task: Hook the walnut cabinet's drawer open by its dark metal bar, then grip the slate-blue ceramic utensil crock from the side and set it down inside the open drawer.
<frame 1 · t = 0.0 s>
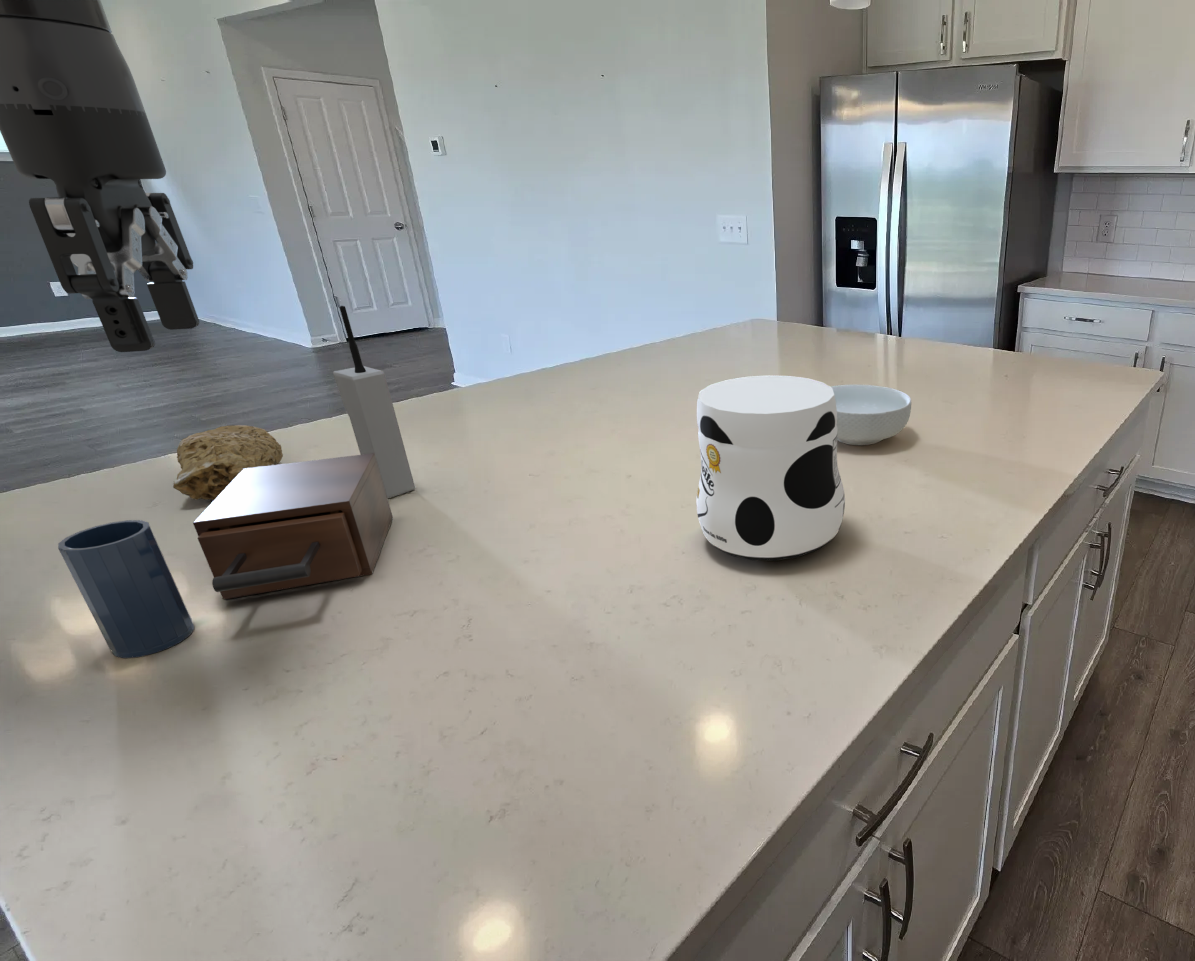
hand: (160, 338, 55), 28 cm above the worktop, tool pointing down, fingers open, 8 cm apart
utensil crock: (154, 639, 65), on the worktop
cabinet: (317, 554, 79), on the worktop
cereal bowl: (859, 438, 117), on the worktop
sponge: (234, 480, 99), on the worktop
milk container: (773, 538, 84), on the worktop
vintage mobile phone: (392, 491, 96), on the worktop
drawer: (292, 541, 73), point 4 cm above the worktop, slide at 0.5 cm
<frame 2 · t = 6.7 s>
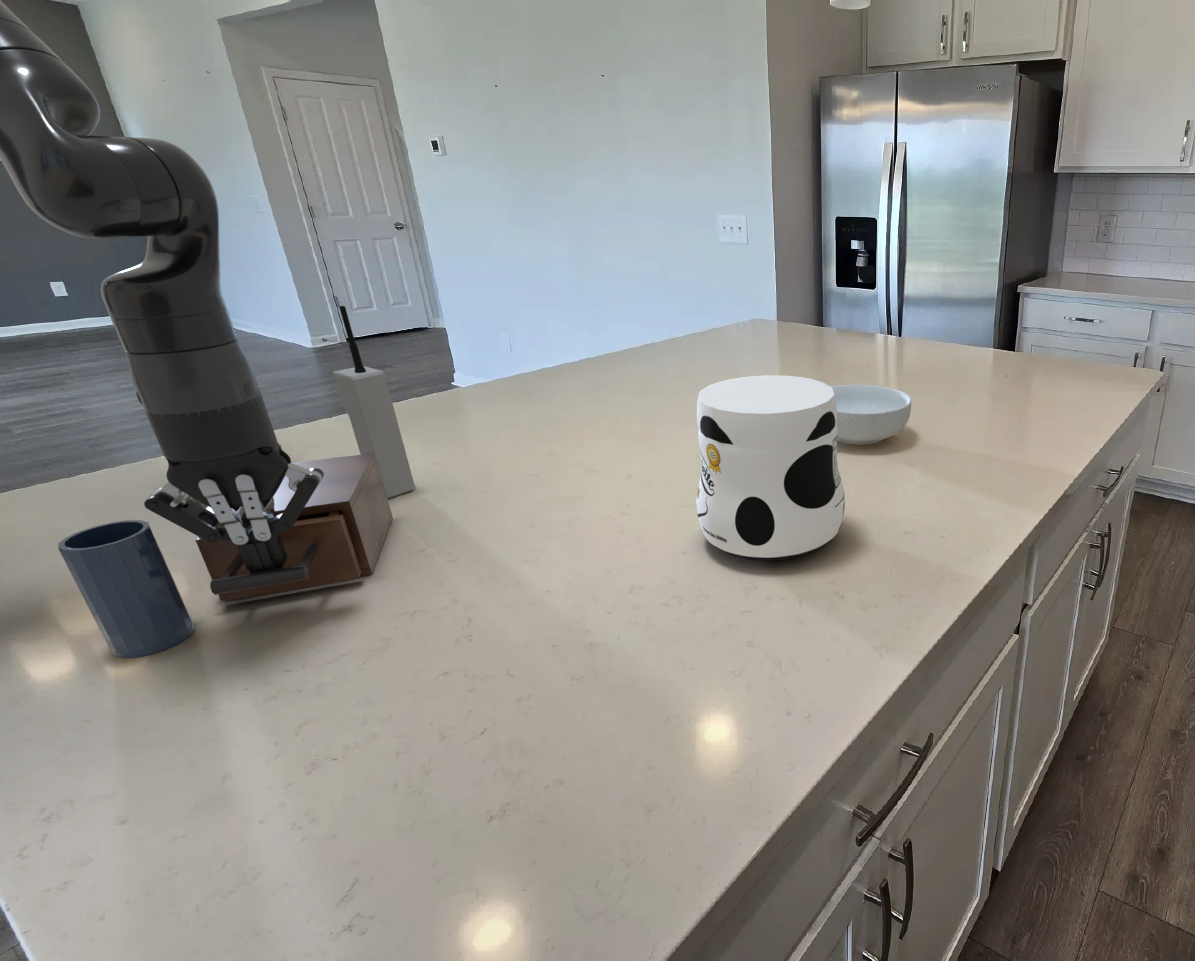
hand: (270, 572, 66), 5 cm above the worktop, tool pointing down, fingers closed
drawer: (291, 543, 73), point 4 cm above the worktop, slide at 1.0 cm, touching gripper
everything else where it was.
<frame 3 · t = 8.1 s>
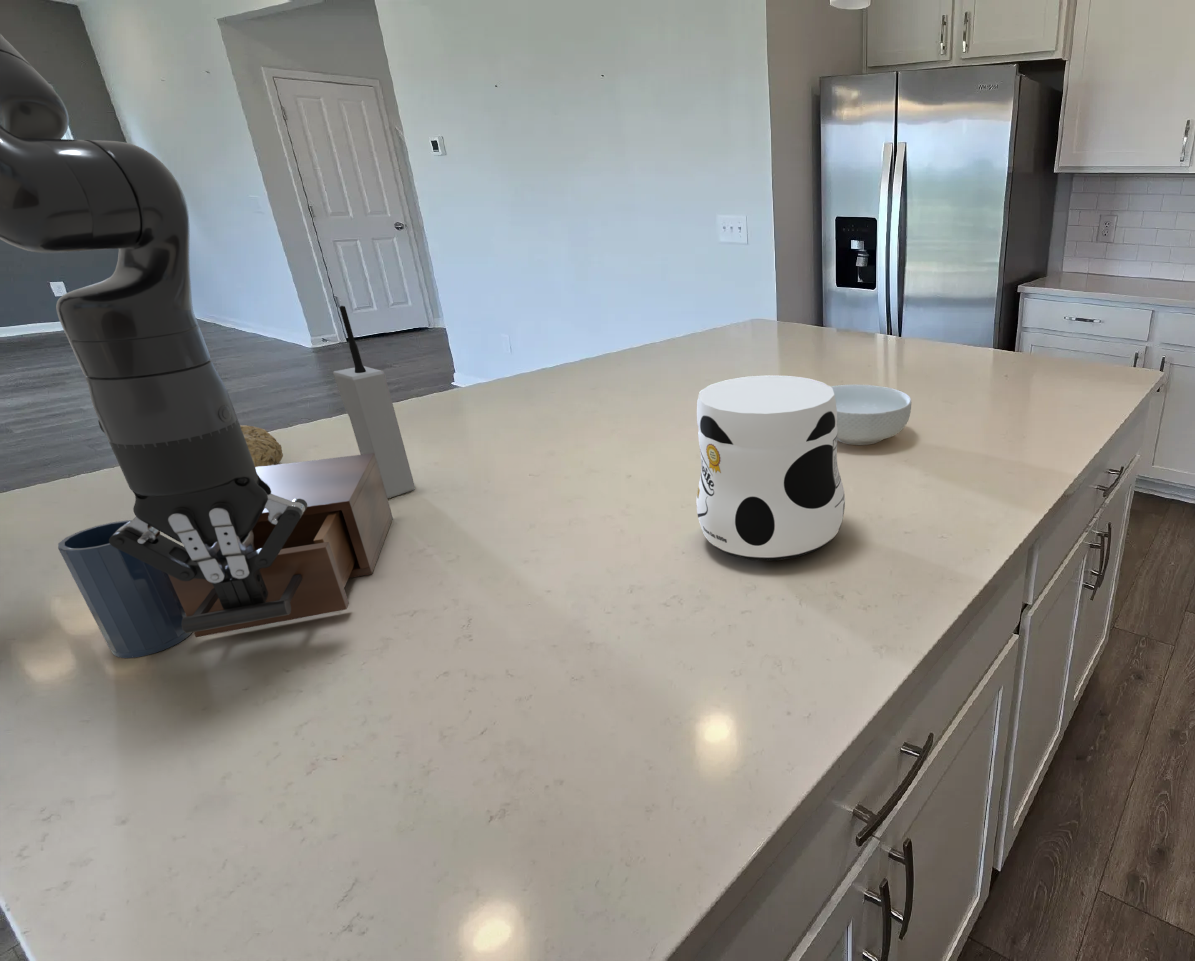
hand: (249, 611, 61), 5 cm above the worktop, tool pointing down, fingers closed
drawer: (273, 572, 67), point 4 cm above the worktop, slide at 7.3 cm, touching gripper
everything else where it was.
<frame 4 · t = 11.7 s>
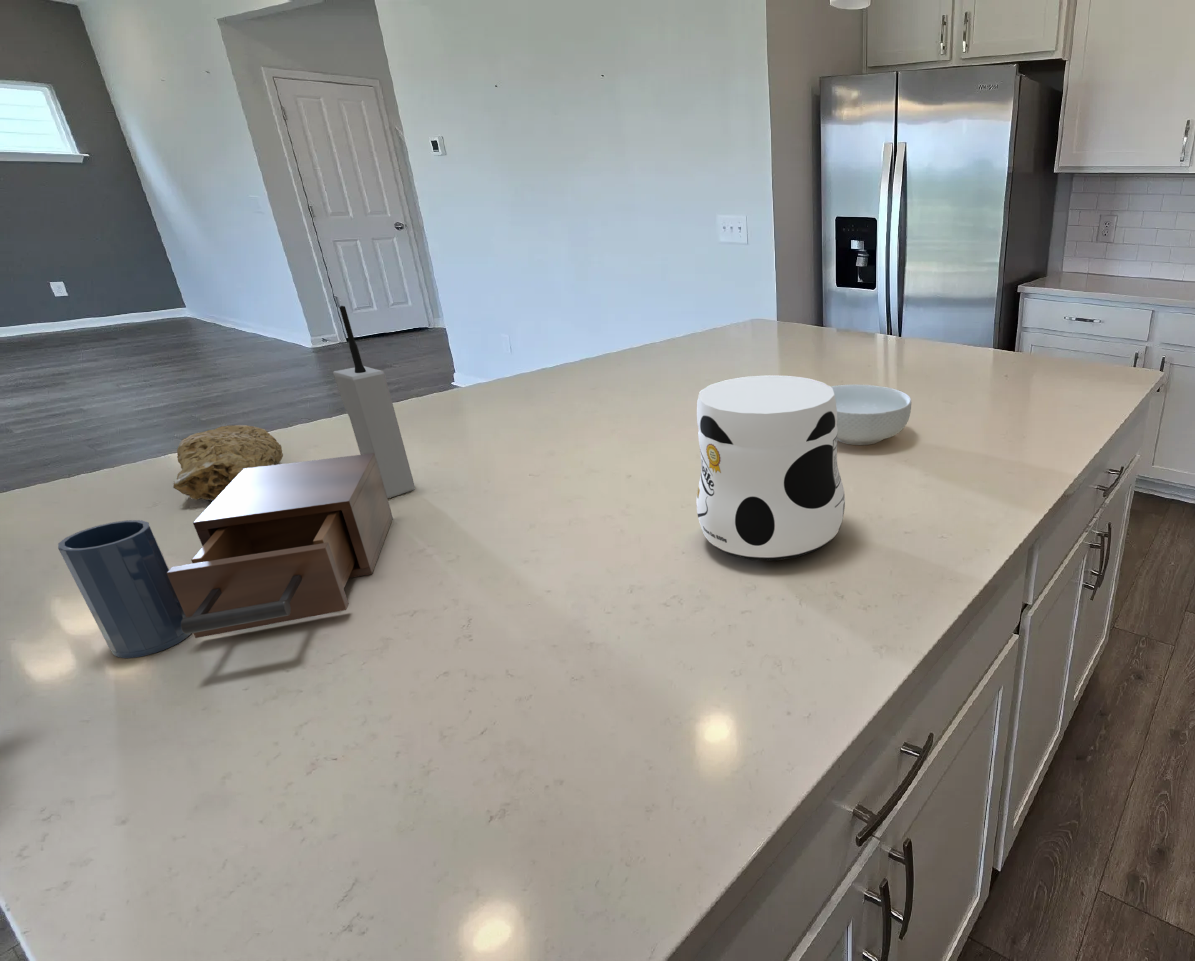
drawer: (273, 573, 67), point 4 cm above the worktop, slide at 7.5 cm
everything else where it was.
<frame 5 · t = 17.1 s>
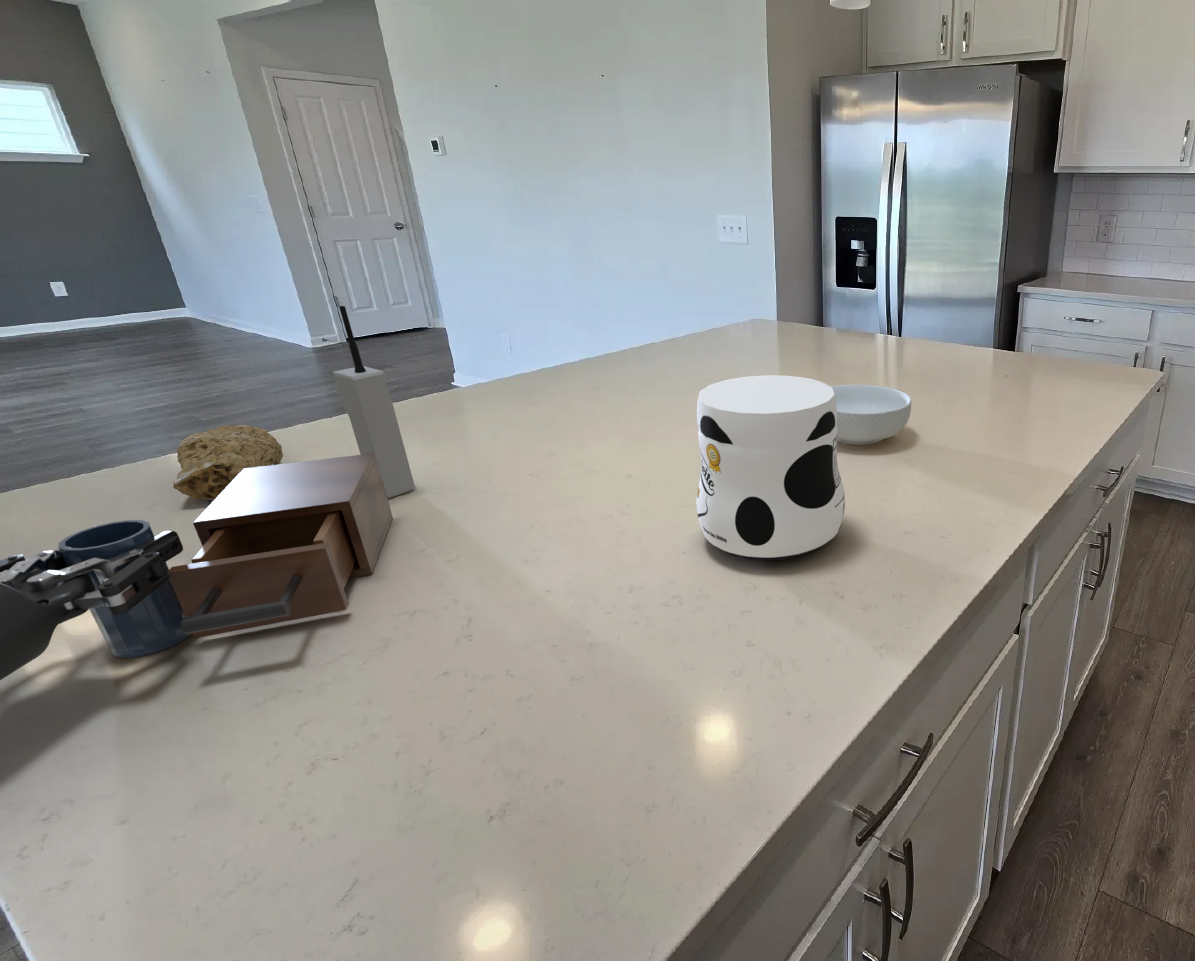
hand: (138, 541, 63), 9 cm above the worktop, tool horizontal, fingers closed on utensil crock, 5 cm apart
utensil crock: (154, 639, 65), on the worktop, touching gripper
everything else where it was.
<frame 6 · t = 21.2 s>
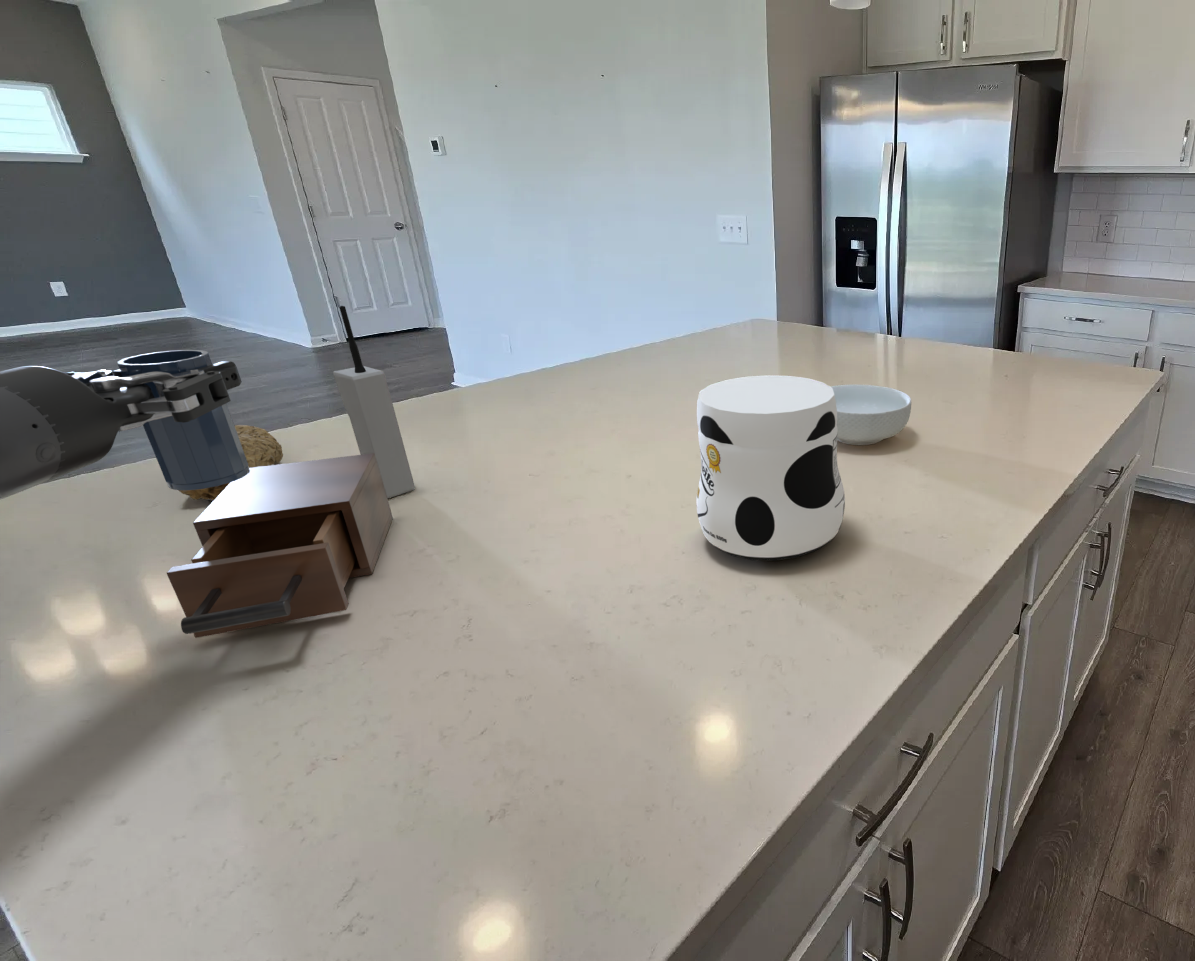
hand: (196, 373, 61), 24 cm above the worktop, tool horizontal, fingers closed on utensil crock, 5 cm apart
utensil crock: (210, 478, 63), point 15 cm above the worktop, touching gripper
everything else where it was.
when the fingers open (11 cm above the worktop, at t = 25.4 s): utensil crock stays where it is, resting on drawer.
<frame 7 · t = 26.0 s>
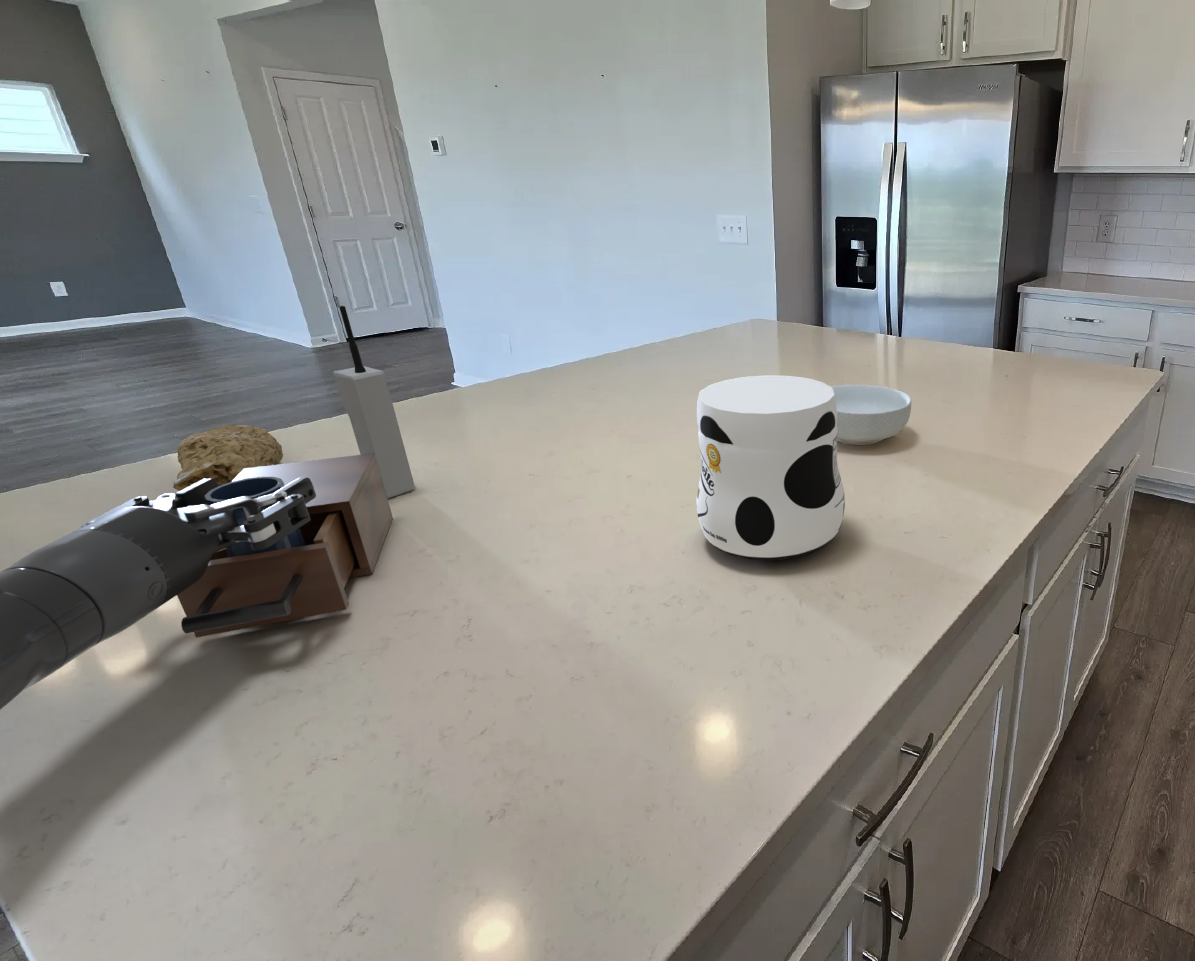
hand: (262, 487, 67), 12 cm above the worktop, tool horizontal, fingers open, 8 cm apart
utensil crock: (282, 590, 69), point 2 cm above the worktop, touching drawer
drawer: (273, 572, 67), point 4 cm above the worktop, slide at 7.4 cm, touching utensil crock
everything else where it was.
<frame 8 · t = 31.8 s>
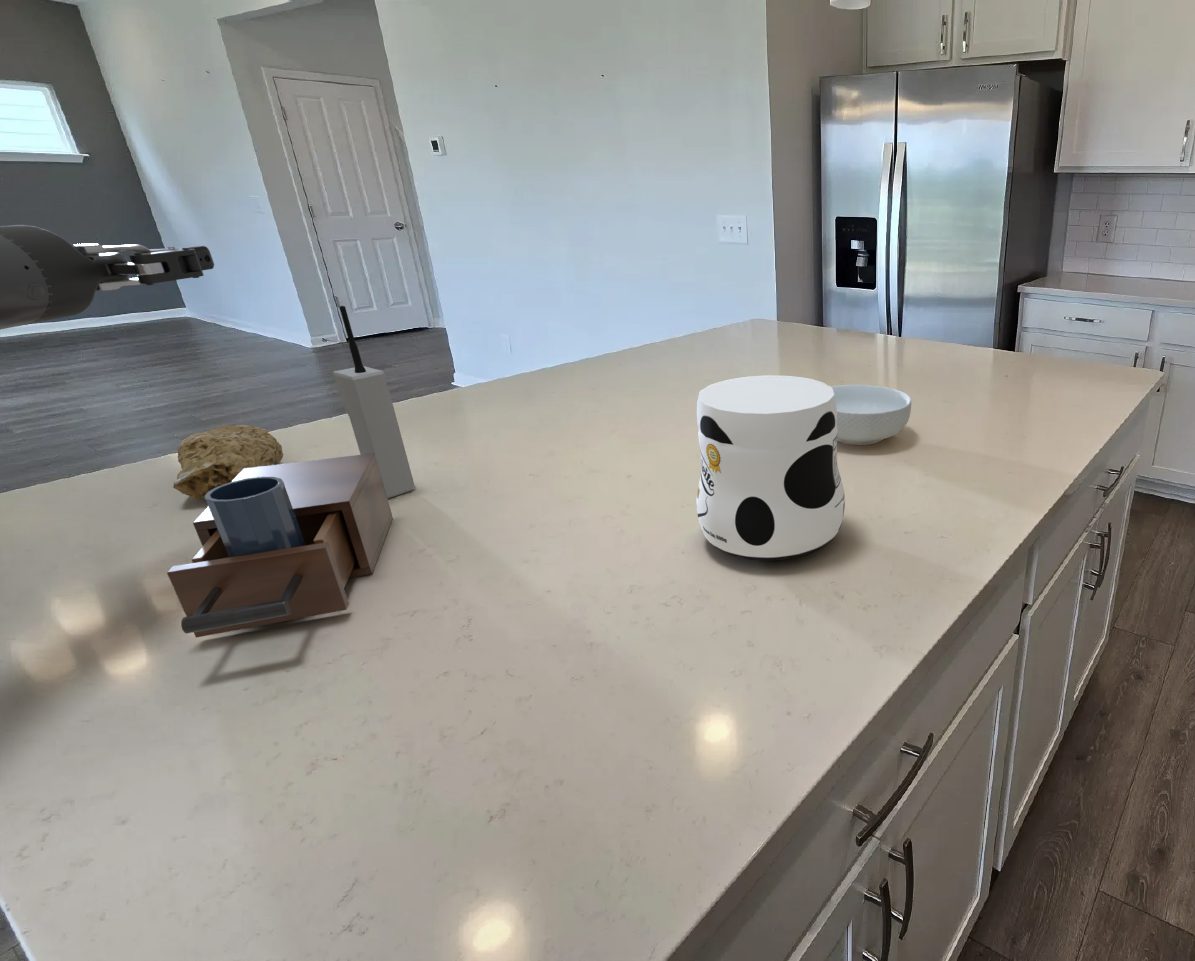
hand: (162, 257, 70), 32 cm above the worktop, tool horizontal, fingers open, 8 cm apart
nothing on the worktop moved.
at the end: drawer slide at 7.4 cm; utensil crock inside the target area in the drawer (1.9 cm from its centre), point 2.1 cm above the cabinet's base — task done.
